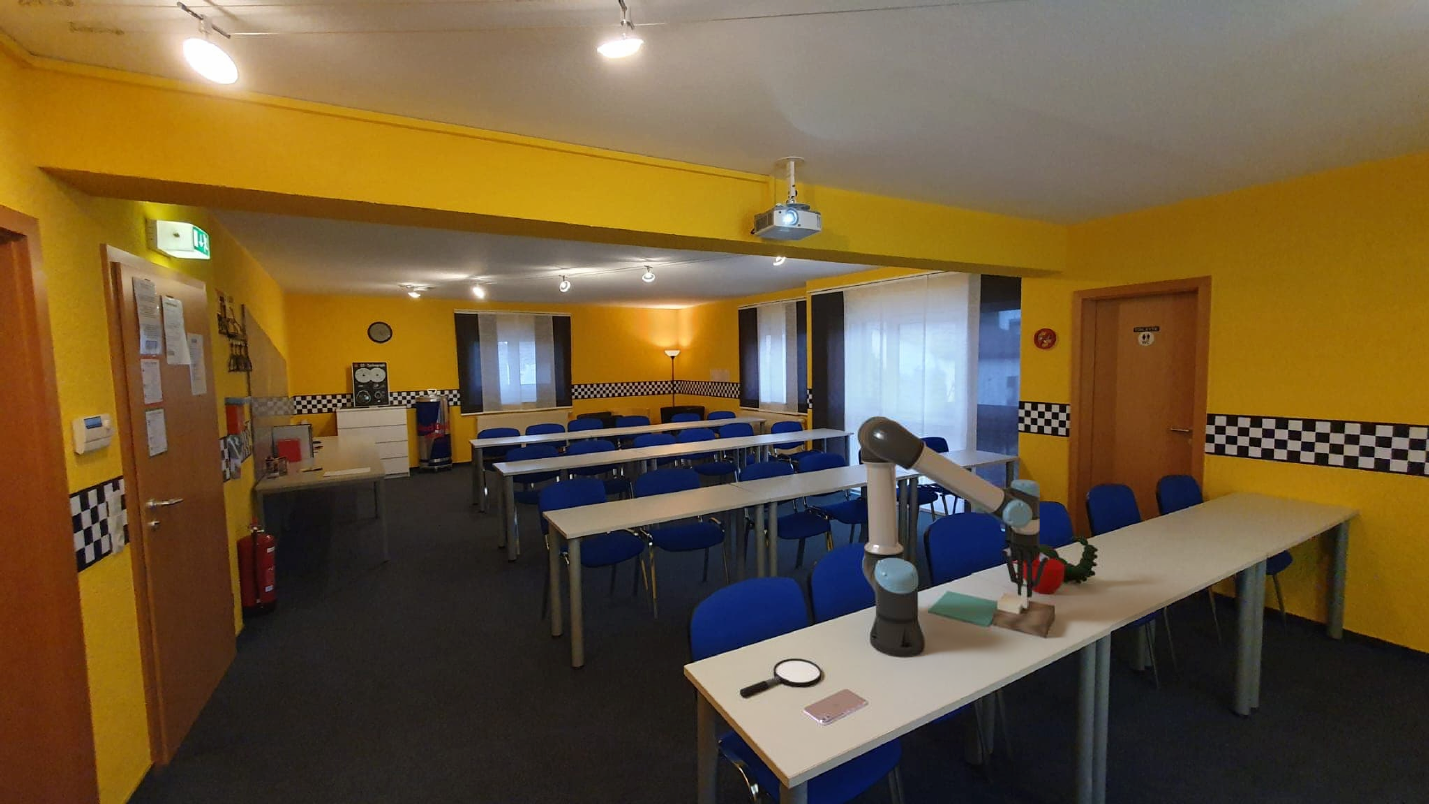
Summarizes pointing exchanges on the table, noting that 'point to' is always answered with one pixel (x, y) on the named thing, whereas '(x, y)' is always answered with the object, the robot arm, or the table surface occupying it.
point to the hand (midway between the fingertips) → (1024, 606)
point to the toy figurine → (1071, 570)
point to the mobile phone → (834, 707)
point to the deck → (1027, 619)
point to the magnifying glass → (788, 676)
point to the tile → (1010, 603)
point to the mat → (965, 608)
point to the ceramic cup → (1046, 575)
